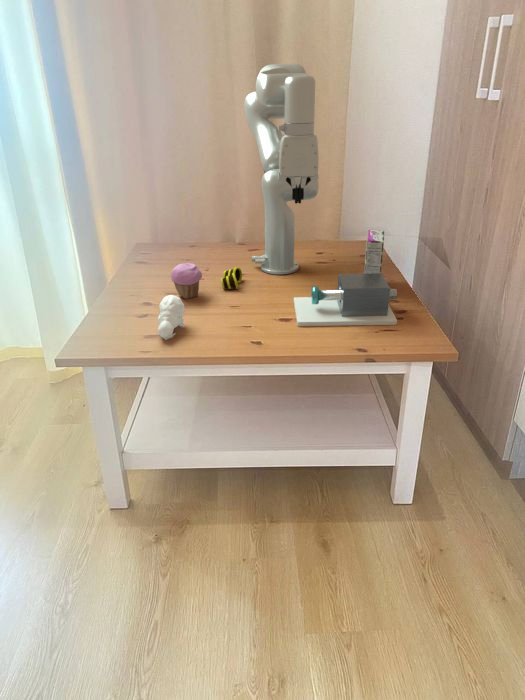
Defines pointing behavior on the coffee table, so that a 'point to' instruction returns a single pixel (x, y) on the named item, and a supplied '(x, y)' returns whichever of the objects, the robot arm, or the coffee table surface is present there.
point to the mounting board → (333, 314)
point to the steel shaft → (335, 294)
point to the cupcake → (186, 279)
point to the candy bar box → (374, 251)
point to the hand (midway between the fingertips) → (297, 202)
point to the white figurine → (170, 316)
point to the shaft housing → (363, 295)
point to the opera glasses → (231, 278)
